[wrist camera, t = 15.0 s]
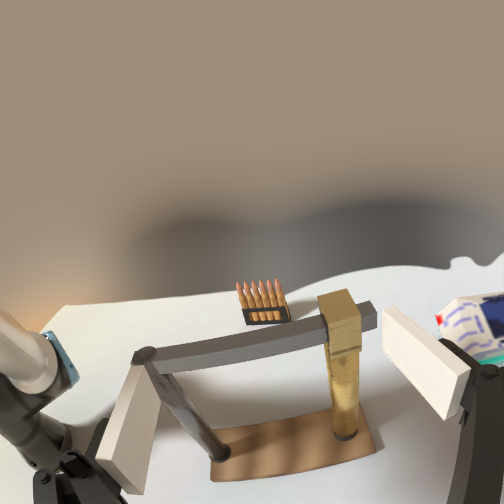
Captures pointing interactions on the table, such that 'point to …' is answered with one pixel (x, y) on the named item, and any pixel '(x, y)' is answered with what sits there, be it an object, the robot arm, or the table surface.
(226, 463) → the walnut board
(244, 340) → the steel frame
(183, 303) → the table surface
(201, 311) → the table surface
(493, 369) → the robot arm
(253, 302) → the ammunition clip
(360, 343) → the brass leg
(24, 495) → the table surface
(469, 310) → the toy car
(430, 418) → the table surface
